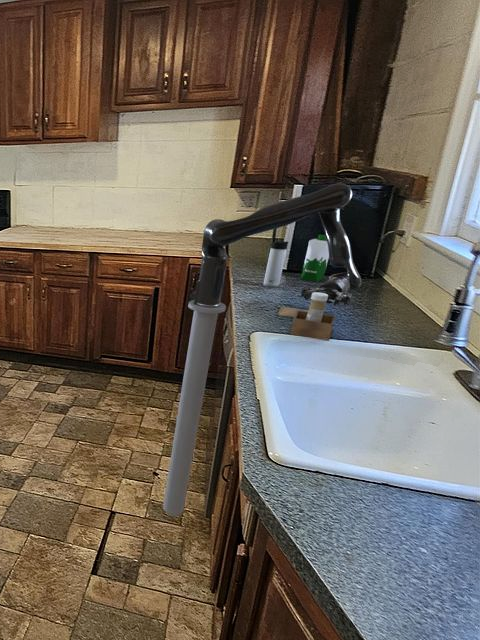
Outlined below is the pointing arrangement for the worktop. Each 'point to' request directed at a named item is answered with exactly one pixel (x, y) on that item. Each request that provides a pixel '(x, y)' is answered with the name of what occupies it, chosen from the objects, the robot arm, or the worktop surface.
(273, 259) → the travel mug
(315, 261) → the milk carton
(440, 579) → the worktop surface
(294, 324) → the cardboard box
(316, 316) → the sprinkles bottle
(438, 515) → the worktop surface
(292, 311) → the cork mat
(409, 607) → the worktop surface
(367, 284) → the worktop surface
